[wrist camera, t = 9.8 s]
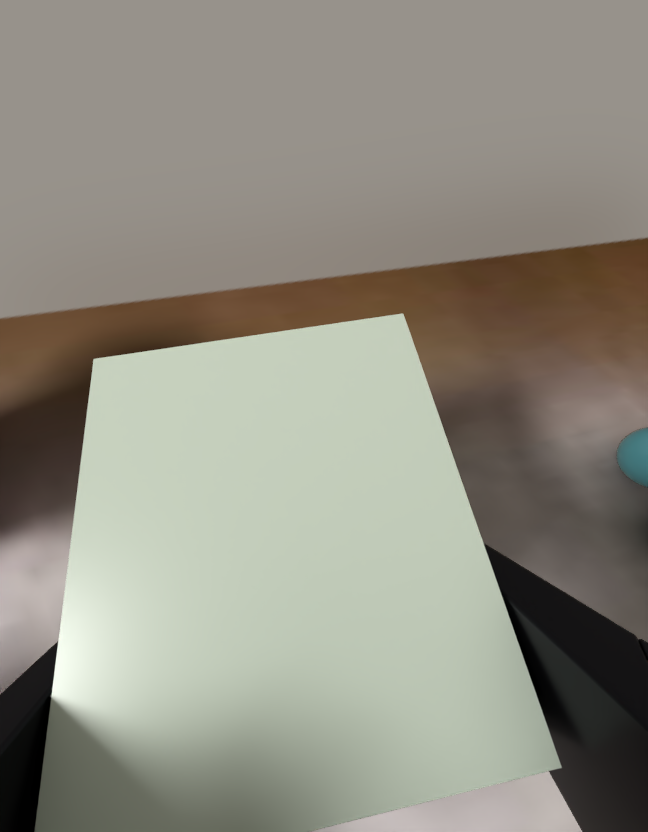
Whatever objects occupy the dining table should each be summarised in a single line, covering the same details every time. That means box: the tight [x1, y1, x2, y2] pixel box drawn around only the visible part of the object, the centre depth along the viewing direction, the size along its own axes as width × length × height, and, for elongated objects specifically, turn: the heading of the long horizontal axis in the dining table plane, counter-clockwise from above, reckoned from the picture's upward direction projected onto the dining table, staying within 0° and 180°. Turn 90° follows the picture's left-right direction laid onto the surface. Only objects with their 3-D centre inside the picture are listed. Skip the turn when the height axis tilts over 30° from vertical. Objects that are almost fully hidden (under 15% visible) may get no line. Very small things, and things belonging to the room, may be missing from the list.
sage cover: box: [35, 314, 562, 832], centre depth 10 cm, size 8×7×9 cm
